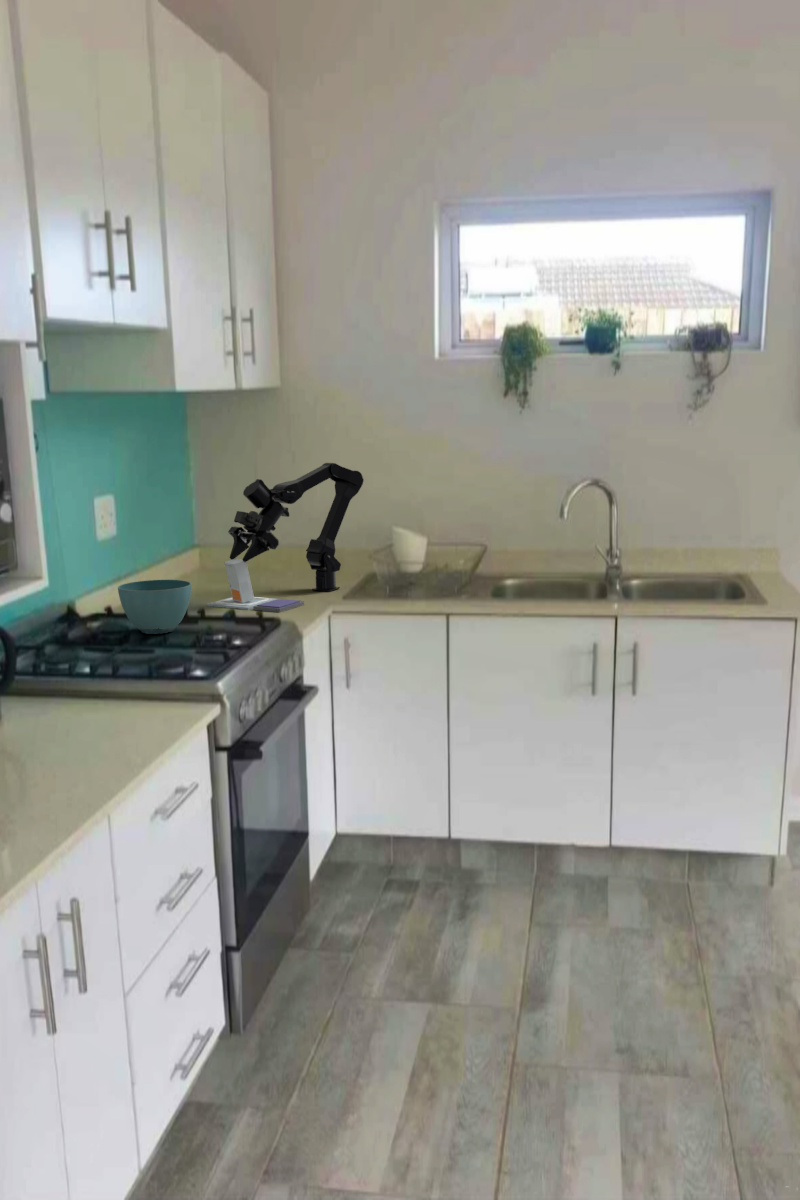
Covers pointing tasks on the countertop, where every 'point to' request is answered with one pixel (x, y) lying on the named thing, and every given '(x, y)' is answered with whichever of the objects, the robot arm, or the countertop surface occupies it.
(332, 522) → the robot arm
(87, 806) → the countertop surface
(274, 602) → the ink pad
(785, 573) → the countertop surface
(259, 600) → the board
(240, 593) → the skincare box
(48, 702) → the countertop surface
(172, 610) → the teal bowl
